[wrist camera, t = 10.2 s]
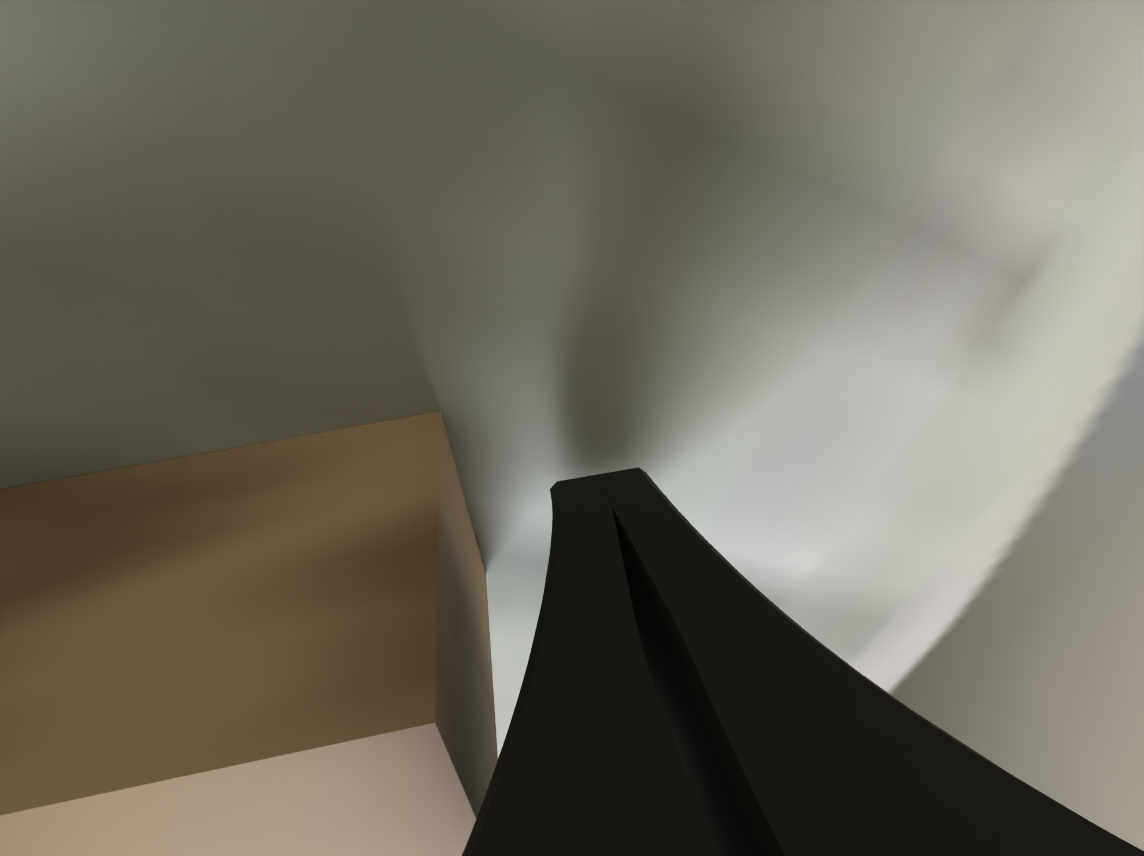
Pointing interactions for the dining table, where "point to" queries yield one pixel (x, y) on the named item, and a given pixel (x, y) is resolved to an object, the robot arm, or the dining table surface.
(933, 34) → the dining table surface
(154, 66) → the dining table surface
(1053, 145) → the dining table surface
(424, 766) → the tall tan wooden block
